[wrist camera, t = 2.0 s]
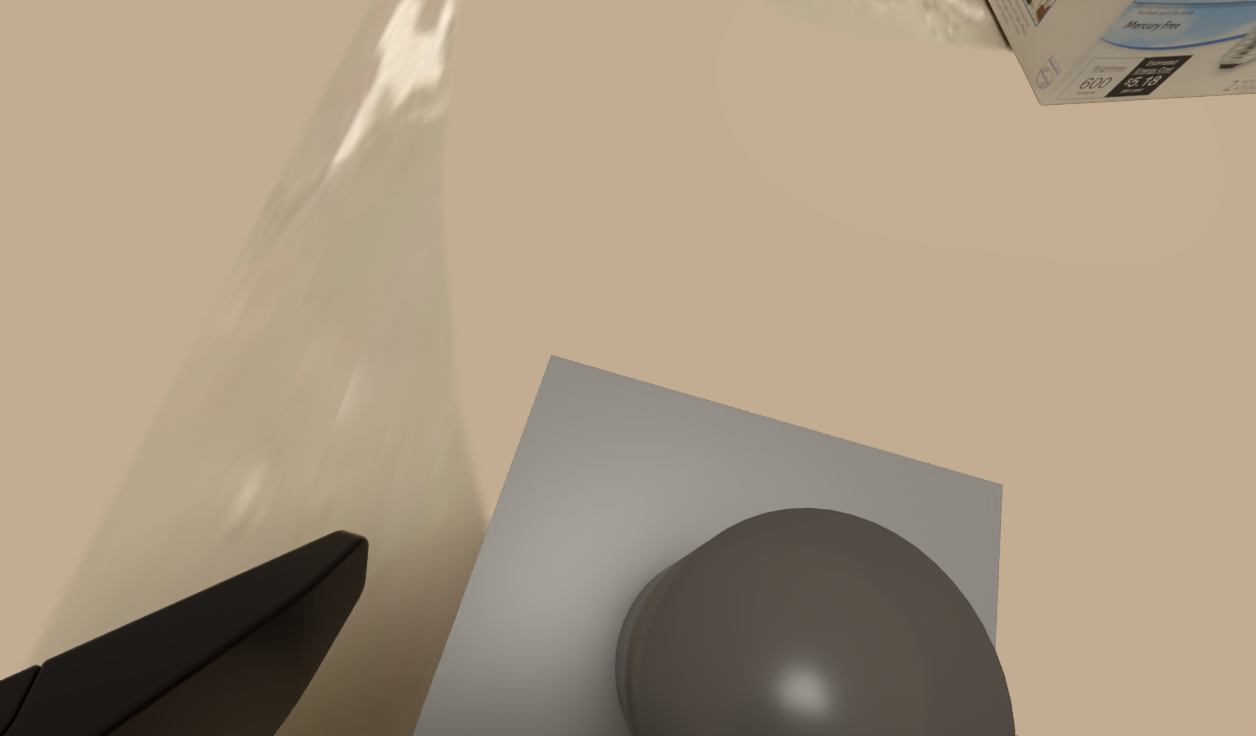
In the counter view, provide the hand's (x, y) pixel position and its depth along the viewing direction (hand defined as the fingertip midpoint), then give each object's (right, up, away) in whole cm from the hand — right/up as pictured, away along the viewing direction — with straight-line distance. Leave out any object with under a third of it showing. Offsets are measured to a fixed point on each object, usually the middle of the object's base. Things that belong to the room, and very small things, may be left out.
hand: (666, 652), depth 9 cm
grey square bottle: (0, -3, +8) cm, 8 cm away
